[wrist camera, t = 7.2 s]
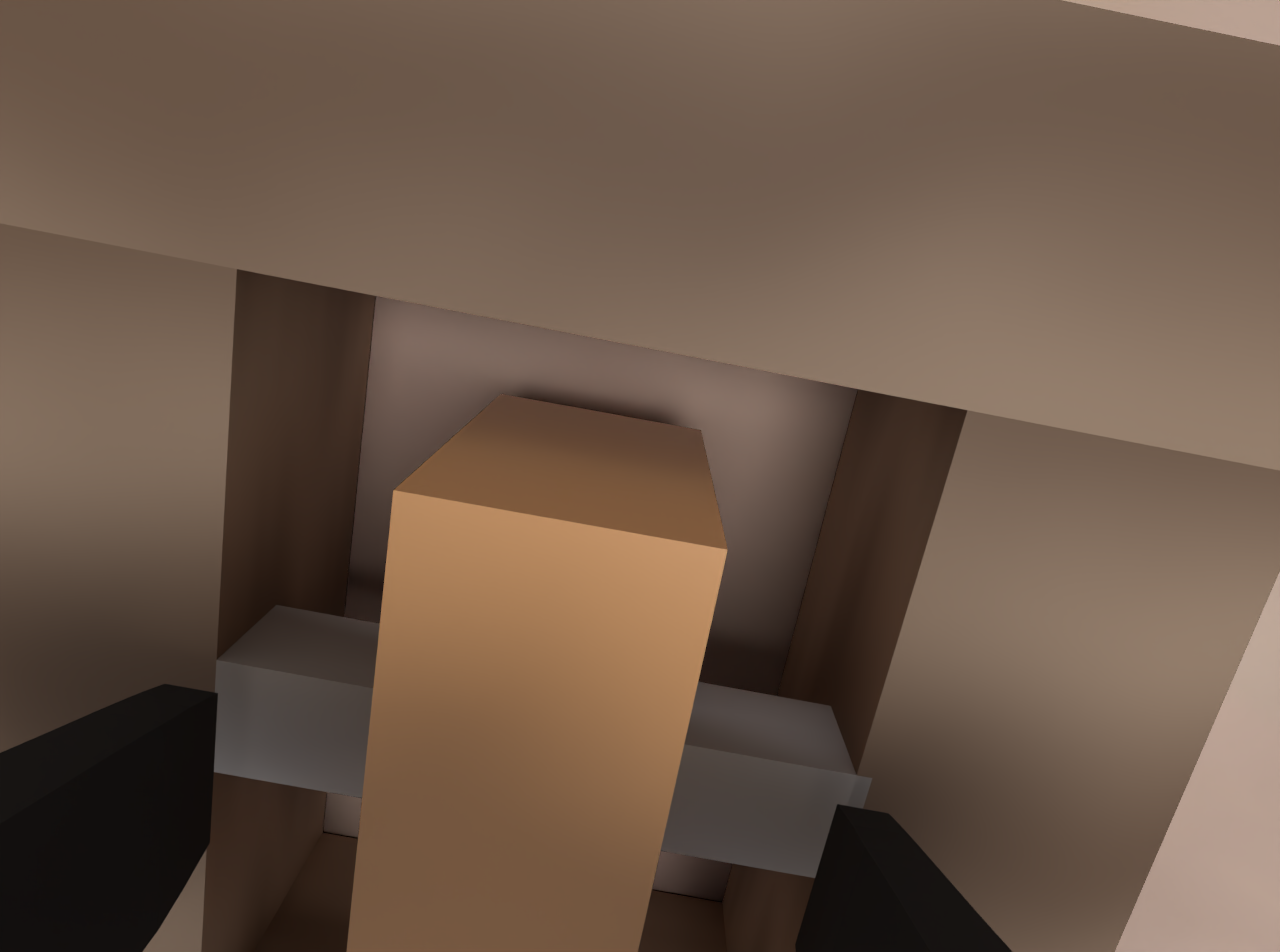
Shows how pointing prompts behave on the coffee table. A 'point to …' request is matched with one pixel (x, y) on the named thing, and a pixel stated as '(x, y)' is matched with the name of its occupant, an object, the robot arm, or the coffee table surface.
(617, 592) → the tan rectangular block
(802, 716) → the brown piece
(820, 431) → the coffee table surface
